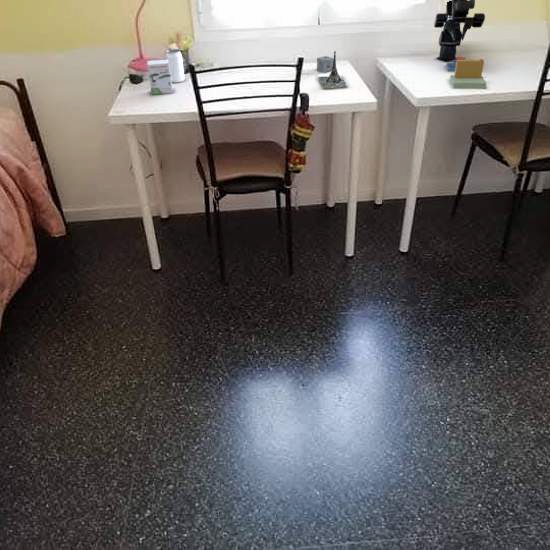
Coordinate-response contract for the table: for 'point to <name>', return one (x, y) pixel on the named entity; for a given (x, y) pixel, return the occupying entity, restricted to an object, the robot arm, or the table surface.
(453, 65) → the button box
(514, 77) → the table surface
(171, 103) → the table surface
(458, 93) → the table surface
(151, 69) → the ink box
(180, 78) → the can
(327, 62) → the dice cube
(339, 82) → the eiffel tower figurine
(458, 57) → the red button
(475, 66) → the brass bar
